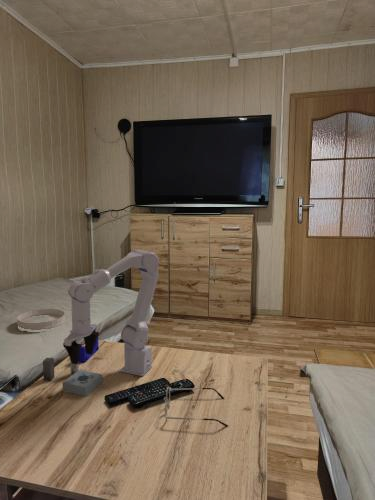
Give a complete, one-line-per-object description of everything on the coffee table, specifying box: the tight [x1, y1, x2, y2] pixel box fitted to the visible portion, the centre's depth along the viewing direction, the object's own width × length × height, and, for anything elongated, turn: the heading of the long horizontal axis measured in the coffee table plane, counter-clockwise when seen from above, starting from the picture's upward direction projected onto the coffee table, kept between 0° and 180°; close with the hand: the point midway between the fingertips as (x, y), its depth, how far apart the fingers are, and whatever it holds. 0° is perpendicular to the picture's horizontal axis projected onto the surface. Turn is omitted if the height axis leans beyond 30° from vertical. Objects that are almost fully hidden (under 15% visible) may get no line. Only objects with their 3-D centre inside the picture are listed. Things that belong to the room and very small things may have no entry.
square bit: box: [42, 357, 55, 382], centre depth 116 cm, size 3×3×7 cm
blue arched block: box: [78, 336, 100, 364], centre depth 135 cm, size 12×4×6 cm, turn 170°
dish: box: [16, 308, 66, 330], centre depth 168 cm, size 22×22×5 cm
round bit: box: [69, 360, 79, 376], centre depth 120 cm, size 3×3×7 cm
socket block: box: [62, 369, 103, 397], centre depth 112 cm, size 9×9×3 cm
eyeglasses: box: [163, 386, 229, 427], centre depth 100 cm, size 16×19×5 cm
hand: (82, 358), depth 111 cm, fingers open, 7 cm apart
